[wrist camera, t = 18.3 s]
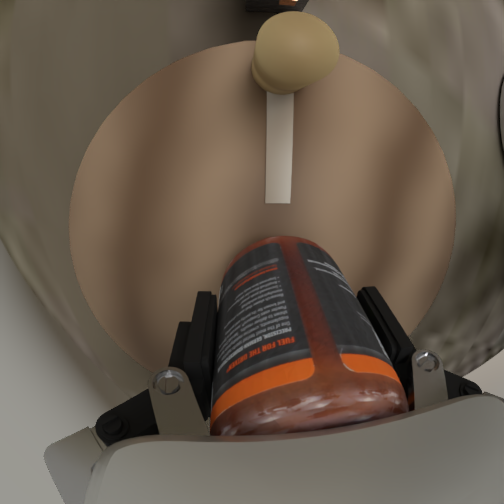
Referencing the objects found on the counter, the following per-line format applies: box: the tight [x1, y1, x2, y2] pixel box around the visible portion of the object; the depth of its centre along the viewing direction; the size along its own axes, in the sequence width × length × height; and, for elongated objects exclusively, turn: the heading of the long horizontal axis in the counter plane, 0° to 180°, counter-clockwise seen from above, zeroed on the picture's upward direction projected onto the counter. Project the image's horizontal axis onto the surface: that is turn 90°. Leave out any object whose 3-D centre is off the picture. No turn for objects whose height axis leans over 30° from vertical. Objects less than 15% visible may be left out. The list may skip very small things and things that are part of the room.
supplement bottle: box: [210, 236, 409, 436], centre depth 9 cm, size 6×6×11 cm
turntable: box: [69, 11, 456, 373], centre depth 14 cm, size 24×24×6 cm
